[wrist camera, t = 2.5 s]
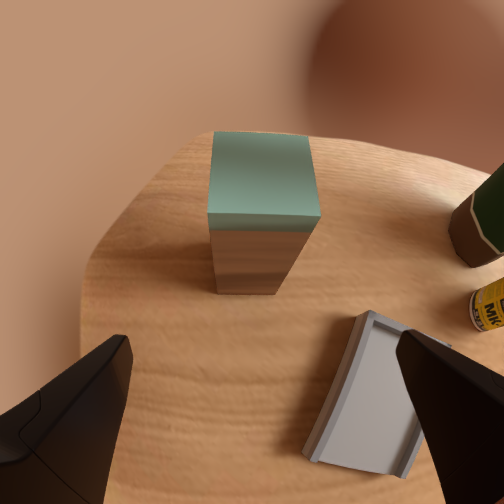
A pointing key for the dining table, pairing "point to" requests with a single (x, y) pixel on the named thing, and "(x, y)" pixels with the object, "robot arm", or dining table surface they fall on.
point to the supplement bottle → (488, 306)
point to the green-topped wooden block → (259, 209)
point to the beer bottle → (480, 223)
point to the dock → (368, 405)
